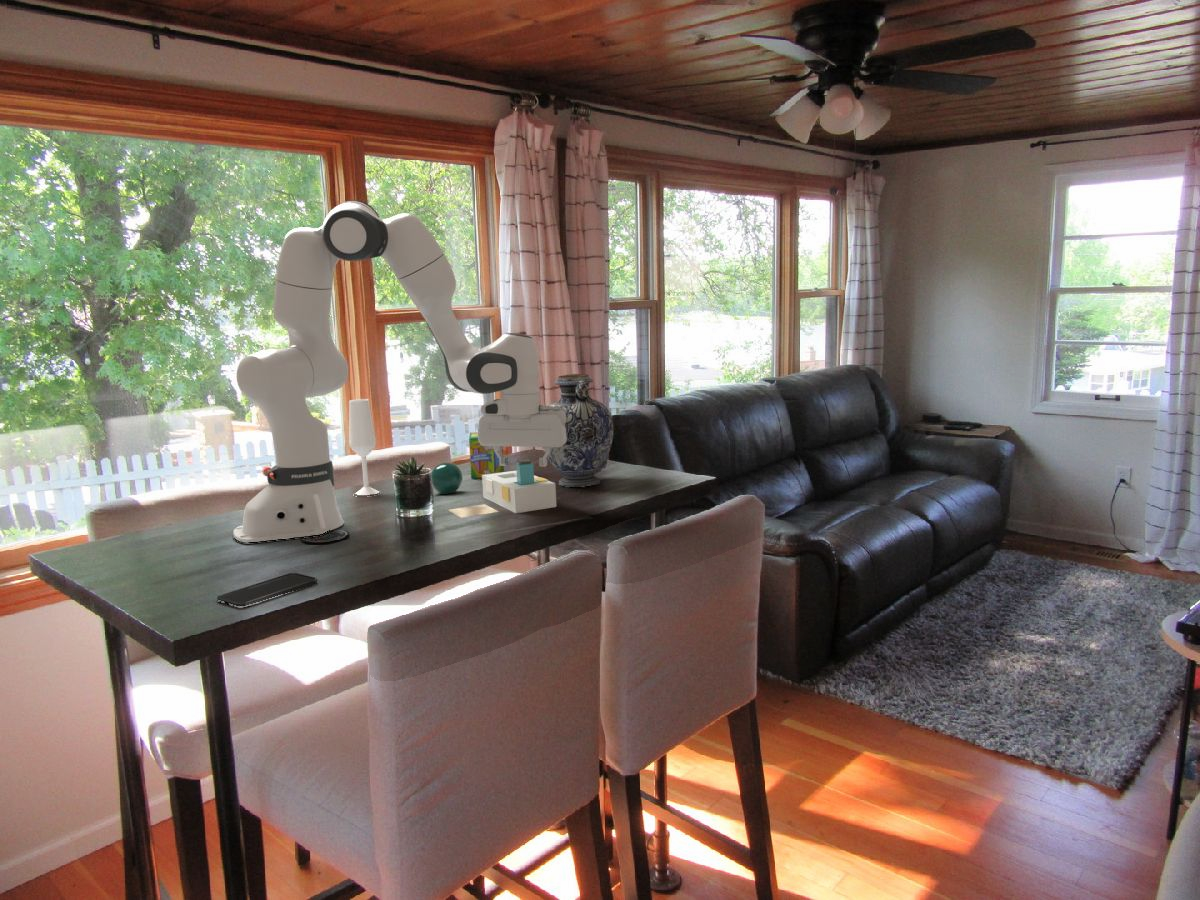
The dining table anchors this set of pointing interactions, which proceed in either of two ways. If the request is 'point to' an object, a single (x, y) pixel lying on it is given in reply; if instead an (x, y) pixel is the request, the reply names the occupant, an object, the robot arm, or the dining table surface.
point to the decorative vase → (581, 433)
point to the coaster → (473, 511)
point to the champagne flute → (362, 437)
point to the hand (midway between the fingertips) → (523, 465)
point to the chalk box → (482, 458)
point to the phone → (268, 589)
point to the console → (518, 492)
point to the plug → (525, 472)
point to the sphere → (446, 478)
